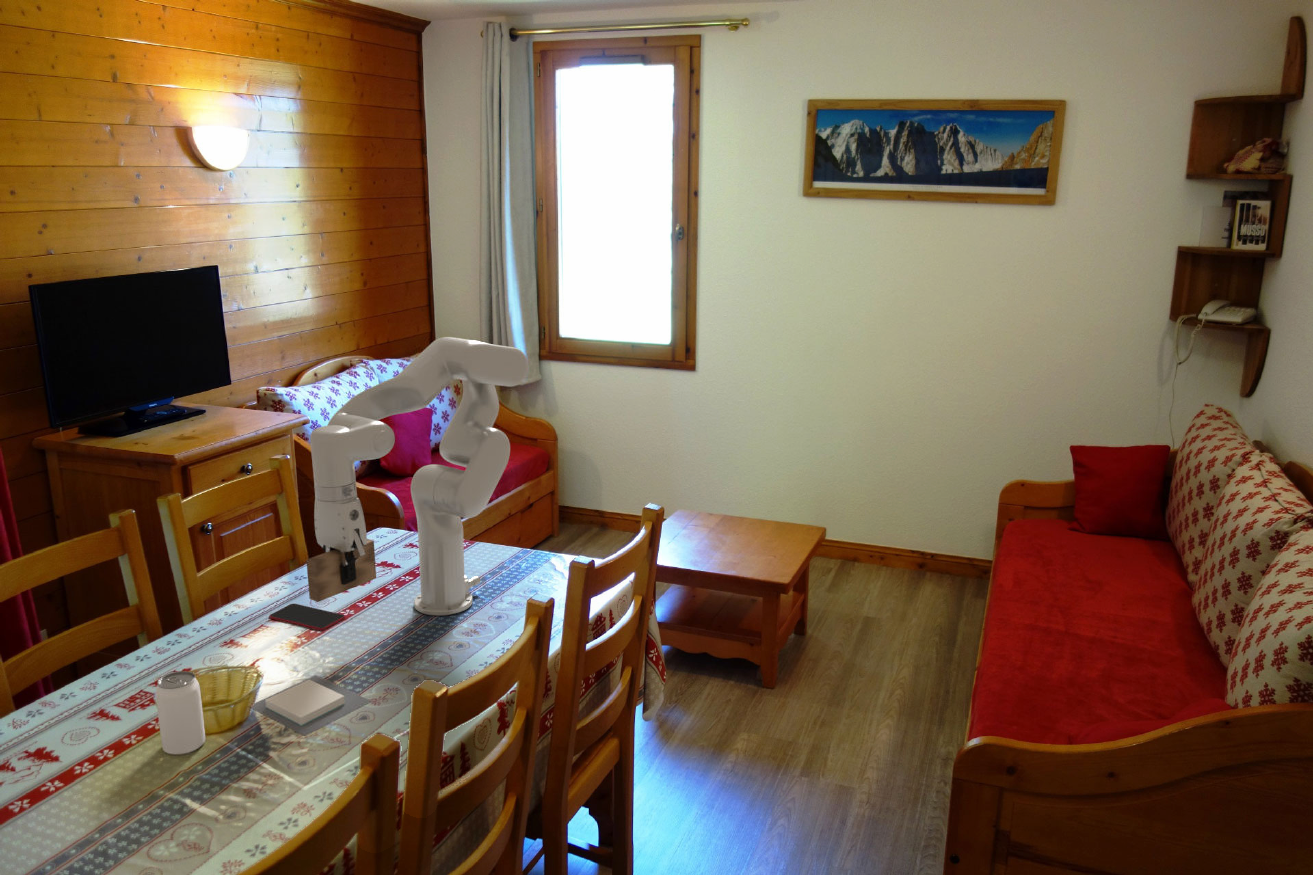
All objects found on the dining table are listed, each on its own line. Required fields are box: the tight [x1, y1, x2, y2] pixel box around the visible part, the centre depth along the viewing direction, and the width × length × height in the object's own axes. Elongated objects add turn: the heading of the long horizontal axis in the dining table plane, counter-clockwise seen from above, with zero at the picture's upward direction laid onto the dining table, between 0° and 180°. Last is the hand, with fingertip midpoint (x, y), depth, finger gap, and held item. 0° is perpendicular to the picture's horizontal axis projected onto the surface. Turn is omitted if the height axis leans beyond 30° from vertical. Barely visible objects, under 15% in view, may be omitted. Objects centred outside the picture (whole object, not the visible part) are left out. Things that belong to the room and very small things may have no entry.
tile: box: [265, 680, 345, 726], centre depth 174 cm, size 2×10×9 cm
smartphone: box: [268, 603, 346, 632], centre depth 210 cm, size 7×1×15 cm
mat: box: [251, 674, 373, 737], centre depth 175 cm, size 14×16×1 cm
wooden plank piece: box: [306, 538, 377, 603], centre depth 192 cm, size 14×2×8 cm, turn 146°
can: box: [155, 670, 206, 756], centre depth 161 cm, size 6×6×12 cm
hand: (343, 579), depth 193 cm, fingers closed on wooden plank piece, 2 cm apart
